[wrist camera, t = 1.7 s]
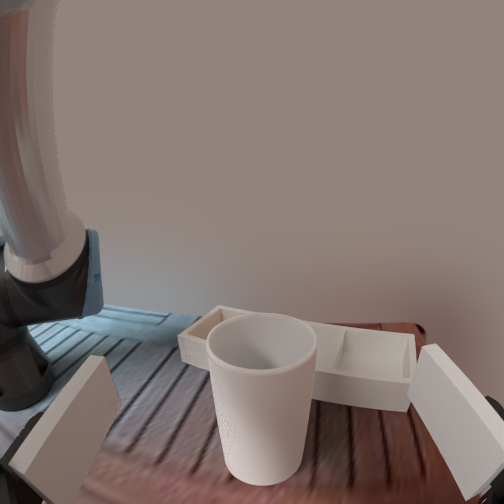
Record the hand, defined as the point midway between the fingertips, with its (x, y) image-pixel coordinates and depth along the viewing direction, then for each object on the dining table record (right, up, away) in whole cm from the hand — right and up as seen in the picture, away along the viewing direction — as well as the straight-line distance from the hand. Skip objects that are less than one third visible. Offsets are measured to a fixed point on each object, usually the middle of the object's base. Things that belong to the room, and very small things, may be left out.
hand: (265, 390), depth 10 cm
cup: (+1, -17, +14) cm, 22 cm away
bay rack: (+6, -12, +30) cm, 33 cm away
